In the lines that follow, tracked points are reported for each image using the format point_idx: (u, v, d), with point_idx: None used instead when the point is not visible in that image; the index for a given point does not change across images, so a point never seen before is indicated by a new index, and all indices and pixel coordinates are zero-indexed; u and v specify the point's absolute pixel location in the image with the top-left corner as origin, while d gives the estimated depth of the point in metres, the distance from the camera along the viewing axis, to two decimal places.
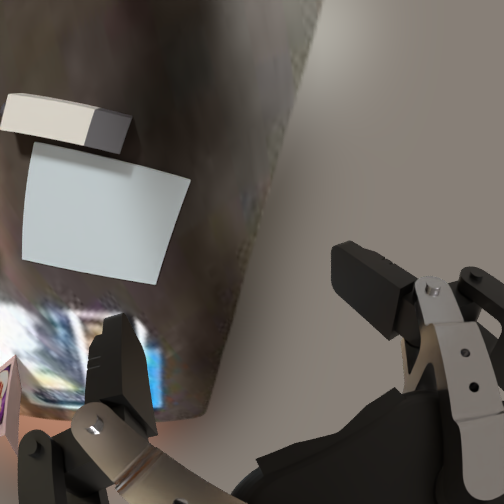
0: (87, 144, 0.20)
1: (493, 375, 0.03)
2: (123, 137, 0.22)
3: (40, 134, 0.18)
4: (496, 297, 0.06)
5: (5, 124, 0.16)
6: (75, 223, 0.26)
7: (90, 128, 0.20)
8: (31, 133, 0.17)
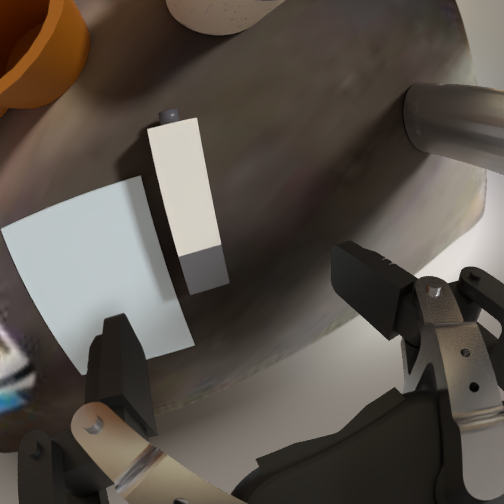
0: (181, 259, 0.21)
1: (493, 375, 0.03)
2: (208, 288, 0.23)
3: (165, 197, 0.19)
4: (496, 297, 0.06)
5: (157, 135, 0.17)
6: (81, 277, 0.21)
7: (199, 252, 0.21)
8: (161, 183, 0.18)
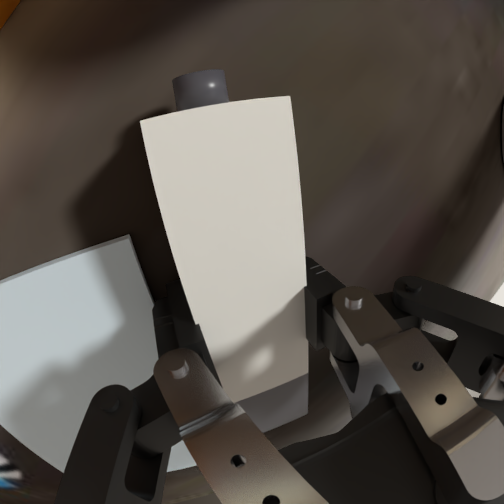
0: None
1: (456, 379, 0.04)
2: (273, 427, 0.11)
3: (199, 312, 0.07)
4: (444, 306, 0.06)
5: (171, 140, 0.05)
6: (49, 401, 0.10)
7: (268, 392, 0.10)
8: (186, 281, 0.07)
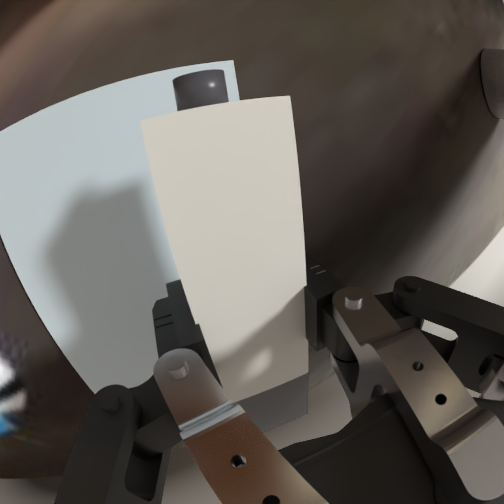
0: None
1: (456, 378, 0.04)
2: (273, 427, 0.11)
3: (199, 312, 0.07)
4: (444, 306, 0.06)
5: (171, 140, 0.05)
6: (104, 228, 0.13)
7: (268, 392, 0.10)
8: (186, 280, 0.07)
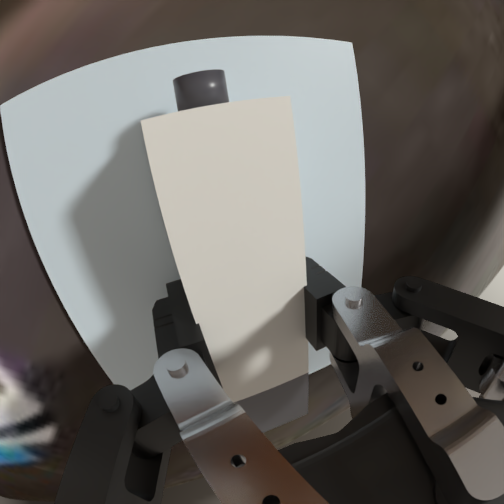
0: None
1: (456, 379, 0.04)
2: (273, 427, 0.12)
3: (200, 312, 0.07)
4: (444, 306, 0.06)
5: (172, 140, 0.05)
6: None
7: (268, 391, 0.10)
8: (187, 280, 0.07)
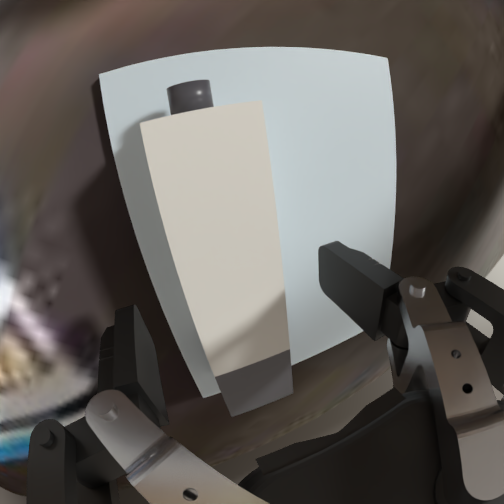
0: (220, 379, 0.11)
1: (486, 375, 0.04)
2: (260, 405, 0.13)
3: (187, 283, 0.09)
4: (486, 297, 0.06)
5: (164, 138, 0.07)
6: (275, 197, 0.12)
7: (252, 366, 0.11)
8: (176, 254, 0.08)
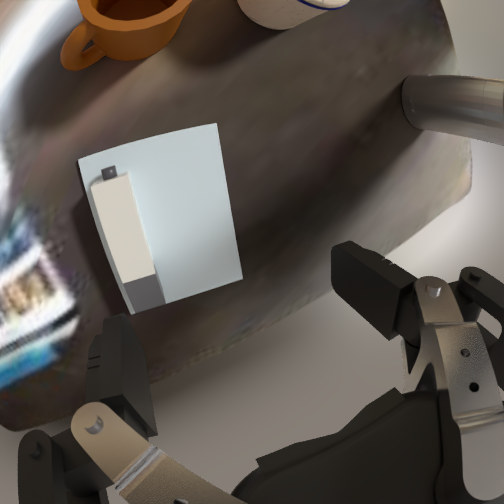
0: (125, 285, 0.25)
1: (493, 375, 0.03)
2: (149, 307, 0.27)
3: (108, 238, 0.23)
4: (496, 297, 0.06)
5: (98, 191, 0.21)
6: (152, 206, 0.27)
7: (139, 280, 0.25)
8: (104, 228, 0.22)
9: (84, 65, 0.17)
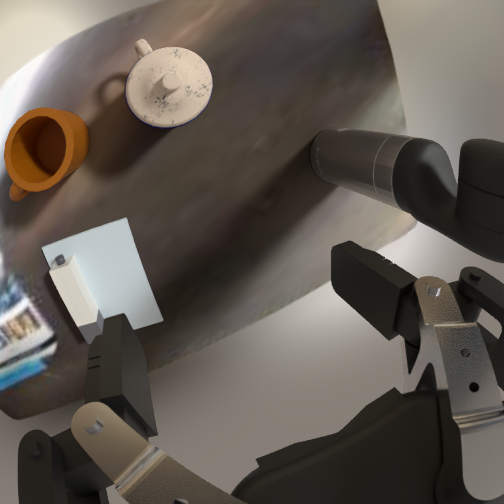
0: (79, 328, 0.35)
1: (493, 375, 0.03)
2: None
3: (64, 301, 0.33)
4: (496, 297, 0.06)
5: (53, 274, 0.31)
6: (92, 276, 0.36)
7: (87, 325, 0.35)
8: (61, 295, 0.32)
9: (30, 190, 0.27)
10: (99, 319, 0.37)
